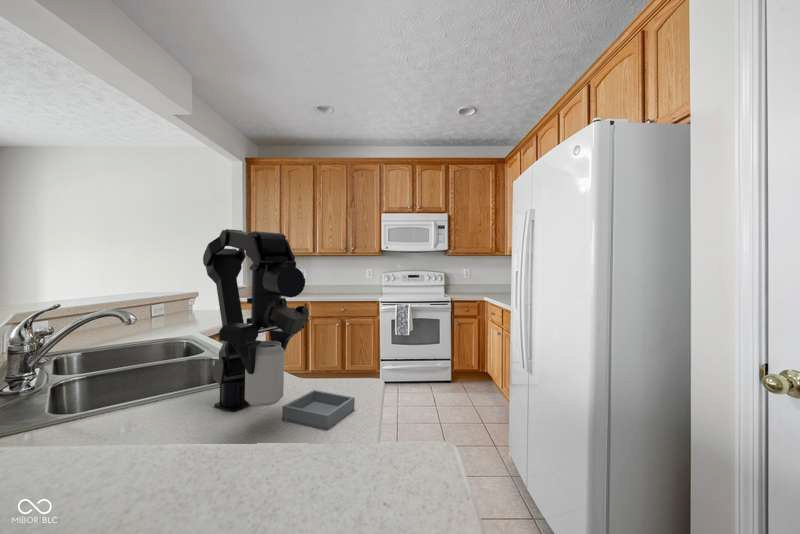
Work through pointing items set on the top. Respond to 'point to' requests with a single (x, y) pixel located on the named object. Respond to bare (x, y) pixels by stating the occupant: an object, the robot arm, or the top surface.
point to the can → (266, 375)
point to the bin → (318, 409)
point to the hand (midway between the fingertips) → (264, 368)
